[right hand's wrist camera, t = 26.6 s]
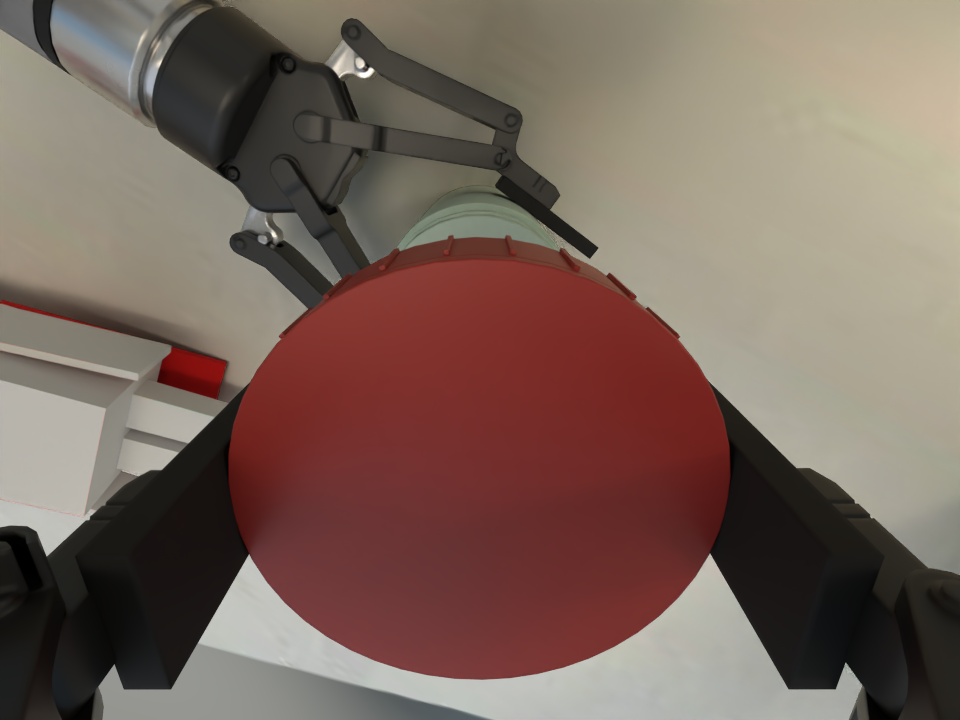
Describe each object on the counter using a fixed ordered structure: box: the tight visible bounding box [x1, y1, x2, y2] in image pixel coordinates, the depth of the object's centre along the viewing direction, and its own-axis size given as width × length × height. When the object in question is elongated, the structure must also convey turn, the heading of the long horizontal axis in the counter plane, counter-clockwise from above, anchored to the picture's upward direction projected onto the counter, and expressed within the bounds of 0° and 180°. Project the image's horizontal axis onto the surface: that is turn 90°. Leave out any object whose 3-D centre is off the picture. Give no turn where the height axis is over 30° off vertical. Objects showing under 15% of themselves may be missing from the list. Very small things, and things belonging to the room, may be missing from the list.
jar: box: [397, 185, 560, 251], centre depth 30 cm, size 9×9×16 cm
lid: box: [228, 235, 731, 680], centre depth 11 cm, size 10×10×2 cm
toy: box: [0, 300, 229, 517], centre depth 35 cm, size 12×13×30 cm
